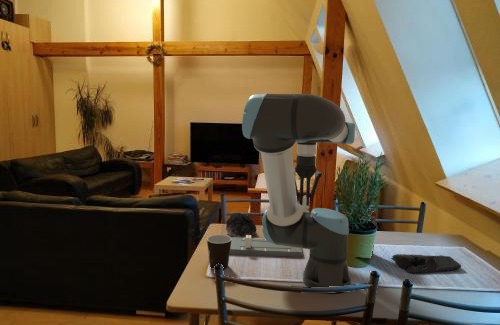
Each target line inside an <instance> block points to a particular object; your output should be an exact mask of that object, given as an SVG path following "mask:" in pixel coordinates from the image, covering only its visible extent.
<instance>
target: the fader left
mask: <svg viewBox="0 0 500 325" xmlns="http://www.w3.org/2000/svg"><path fill="white" fill-rule="evenodd" d="M245 238H246V247H245V248H251V238H252V236H251V235H246V237H245Z"/></svg>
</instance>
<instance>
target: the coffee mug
mask: <svg viewBox="0 0 500 325" xmlns="http://www.w3.org/2000/svg"><path fill="white" fill-rule="evenodd" d="M231 240H232V236H230V235H228V234H227V235H225V234H214V235H213V234H212V235H210V236H207V238H206V243H207V252H208V253H207V254H208V261H209V262H208V263H209V267H211V268H210V269H212V268H214V266H215V265H216V264H218V263H219V264H222V265H223V267H224V269H223V270H226V269H227V268H228V267H229V261H230V255H231V254H230V247H231Z"/></svg>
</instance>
